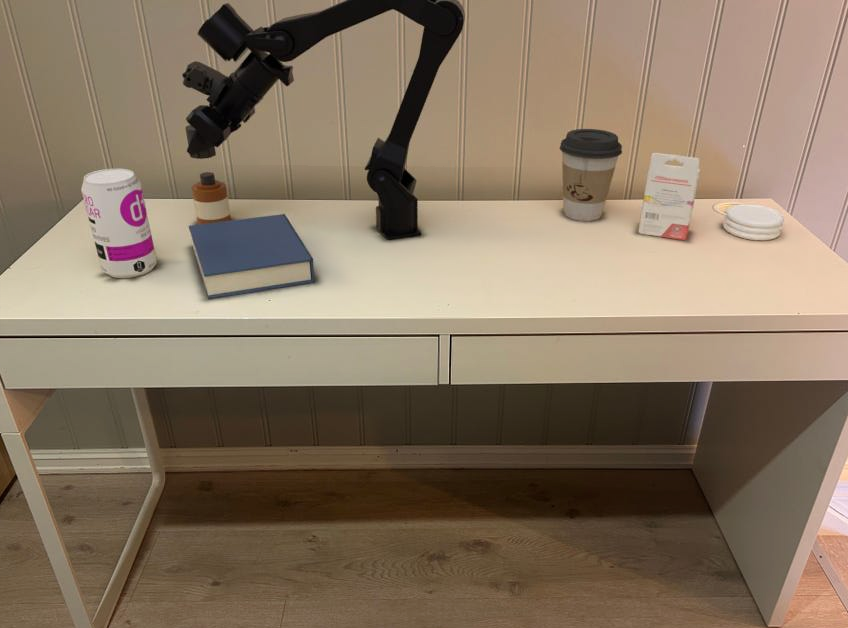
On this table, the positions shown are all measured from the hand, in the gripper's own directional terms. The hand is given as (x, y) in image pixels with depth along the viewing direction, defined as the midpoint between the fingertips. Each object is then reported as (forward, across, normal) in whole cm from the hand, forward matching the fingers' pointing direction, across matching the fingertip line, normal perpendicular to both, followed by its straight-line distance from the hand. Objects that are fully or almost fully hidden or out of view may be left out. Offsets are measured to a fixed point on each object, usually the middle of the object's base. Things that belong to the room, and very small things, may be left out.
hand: (194, 149), depth 125 cm
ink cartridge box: (-49, -4, +68) cm, 84 cm away
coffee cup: (-39, -12, +59) cm, 71 cm away
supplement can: (+14, +20, +6) cm, 25 cm away
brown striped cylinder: (+9, 0, +10) cm, 14 cm away
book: (0, +16, +19) cm, 25 cm away
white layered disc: (-60, -7, +80) cm, 101 cm away
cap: (0, 0, +2) cm, 2 cm away
